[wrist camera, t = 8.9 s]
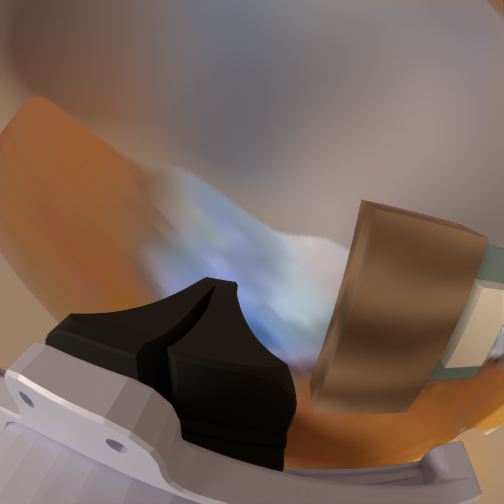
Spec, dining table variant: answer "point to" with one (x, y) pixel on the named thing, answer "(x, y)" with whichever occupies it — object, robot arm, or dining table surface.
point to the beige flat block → (476, 326)
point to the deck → (394, 309)
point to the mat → (500, 271)
